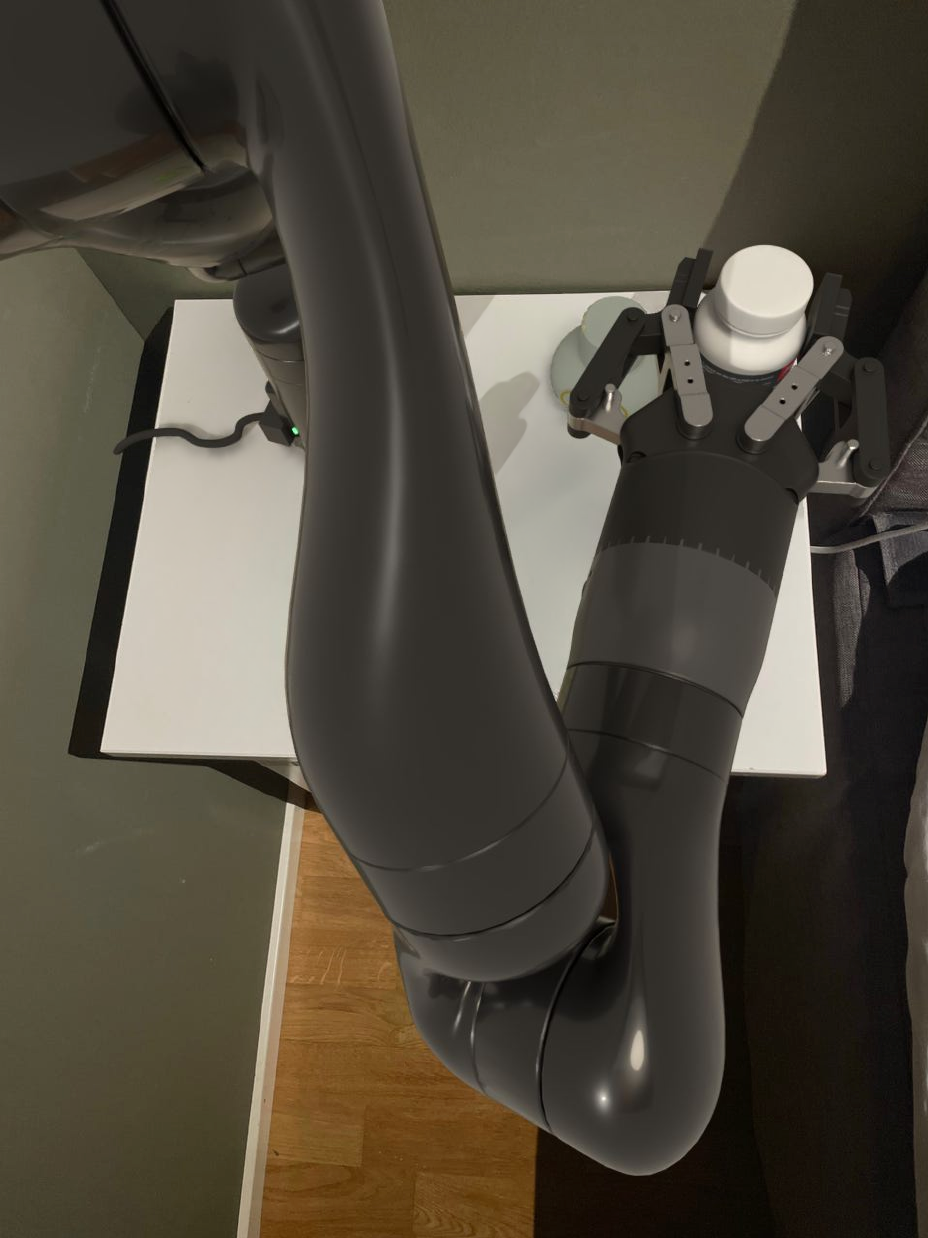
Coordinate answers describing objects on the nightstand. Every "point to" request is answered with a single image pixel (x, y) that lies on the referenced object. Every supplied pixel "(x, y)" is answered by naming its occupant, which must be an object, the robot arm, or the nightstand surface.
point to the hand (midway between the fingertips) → (763, 275)
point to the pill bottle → (754, 316)
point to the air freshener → (585, 344)
